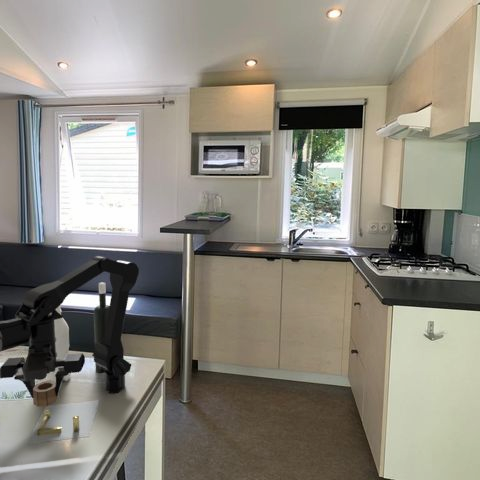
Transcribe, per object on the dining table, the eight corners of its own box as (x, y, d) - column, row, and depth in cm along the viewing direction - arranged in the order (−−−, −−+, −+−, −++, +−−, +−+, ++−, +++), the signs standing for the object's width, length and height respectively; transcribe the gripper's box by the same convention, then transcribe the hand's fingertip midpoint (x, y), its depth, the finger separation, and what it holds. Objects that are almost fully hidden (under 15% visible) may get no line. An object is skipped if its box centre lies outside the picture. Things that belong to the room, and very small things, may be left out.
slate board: (46, 408, 103) (46, 405, 103) (99, 403, 106) (99, 400, 106) (26, 446, 88) (25, 443, 88) (89, 439, 90) (89, 436, 90)
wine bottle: (95, 367, 127) (92, 281, 124) (112, 364, 130) (110, 280, 126) (96, 374, 122) (93, 285, 118) (114, 371, 125) (112, 284, 121)
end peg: (74, 429, 93) (73, 416, 93) (80, 428, 93) (79, 415, 93) (72, 432, 92) (72, 419, 91) (78, 431, 92) (78, 418, 92)
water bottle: (40, 385, 115) (36, 306, 112) (58, 374, 122) (54, 300, 119) (58, 389, 113) (54, 309, 110) (76, 378, 120) (73, 302, 117)
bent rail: (45, 416, 98) (45, 409, 98) (68, 414, 99) (68, 407, 99) (36, 435, 90) (35, 428, 90) (60, 432, 92) (60, 425, 91)
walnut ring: (38, 396, 98) (37, 382, 98) (59, 394, 99) (58, 380, 99) (31, 407, 93) (30, 392, 93) (53, 405, 94) (53, 390, 94)
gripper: (-14, 354, 85) (-9, 418, 86) (74, 349, 88) (77, 410, 90) (6, 336, 95) (10, 393, 97) (84, 331, 99) (86, 387, 101)
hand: (45, 396), depth 96 cm, fingers closed on walnut ring, 5 cm apart
